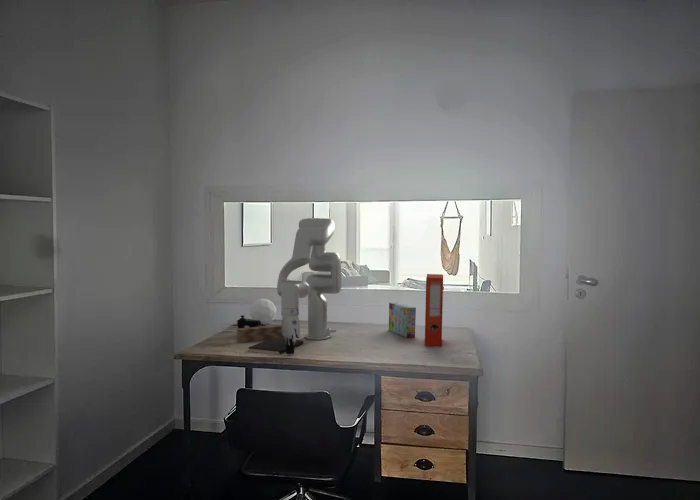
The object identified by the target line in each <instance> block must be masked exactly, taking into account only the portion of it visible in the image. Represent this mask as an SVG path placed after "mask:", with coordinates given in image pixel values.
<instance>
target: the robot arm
mask: <svg viewBox="0 0 700 500" xmlns="http://www.w3.org/2000/svg"><path fill="white" fill-rule="evenodd" d="M335 225H336V224H335V222H334V220H333V219H331V218H311V217H309V218H302V219H300V220H299V222H298V229H297V230H296V233H295V238H294V245H293V249H292V255H291V258H290V259H289V260H288V261H287V262H286V263H284V265H283V266H282V267H281V270H280V272H279V273H278V274H279V275H278V278H277V283H276V285H277V286H276V291H277V292H276V293H277V295H278V296H279V297H280V300H281V301H280V303H281V304H280V306H281V307H280V308H281V309H280V313H281V318H282V319H281V325H282V335H283V336H284V338H283V339H285V341H286V344H287V345H286V352H285V354H287V355H294V354H295V348H294V344H295V342H296V340H297V339H300V337H301V329H300V327H301V326H300V318H299V316H300V313H299V312H300V311H299V310H300V307H299V306H300V299H303V298H306V297H307V333H306V334H305V335H304V339H308V340H313V341H314V340H315V341H317V340H318V341H321V340H322V341H323V340H327V339H330V338H331V334H332V333H333V334H334V333H335V334H336V333H337V329H336V328H330V327H328V301H327V299H326V296H325V295H324V294H329V295H330V294H331V295H334V294H335V295H336V294H339V293H340V292H341V290H342V285H343V283H342V282H343V281H342V261H341V260H342V259H341V257H340V254H339V253H336V252H333V251H331V252H329V251H327V250H326V244H328V242H329V241H330V240H331V238H332V237H333V235H334V233H335V229H336V226H335ZM306 265H308V267H309V270H310V271H312V272H324V273H312V274H310V275H308V276H307V277H306V280H293V279H292V280H291V279H290V280H289V279H288V277H289V275H290V274H291V273H292V272H293V271H295V270H297V269H299V268H302V267H304V266H306ZM325 272H326V273H325ZM328 273H329V274H328Z"/></svg>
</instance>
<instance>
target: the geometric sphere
mask: <svg viewBox="0 0 700 500" xmlns="http://www.w3.org/2000/svg"><path fill="white" fill-rule="evenodd" d="M249 316H250V318H251V320H260V322H261V324H260V325H262V324H263V326H267V325H268V324H270V323H272V322H273V321H274V319H275V318H276V316H277V307H276V306H275V303H274V302H273V301H271V300H270V299H268V298H258V299H256V300H255V301H253V302H252V304H251V306H250V307H249Z"/></svg>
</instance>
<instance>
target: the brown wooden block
mask: <svg viewBox="0 0 700 500" xmlns="http://www.w3.org/2000/svg"><path fill="white" fill-rule="evenodd" d="M272 338H283V339H285V338H284V336H283V335H282V324H278V325H277V324H276V325H275V324H274V325H263V326H257V327H251V328H250V327H244V328H239V329H238V328H236V341H237V343H239V344H240V343H249V342H250V343H251V341H252V342H262V341H266V340H269V339H272ZM261 340H262V341H261Z"/></svg>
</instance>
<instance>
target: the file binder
mask: <svg viewBox="0 0 700 500" xmlns="http://www.w3.org/2000/svg"><path fill="white" fill-rule="evenodd" d="M425 279H426V281H425V310H424V311H425V313H424V314H425V315H424V316H425V317H424V320H425V321H424V323H425V324H424V346H425V347H435V346H437V348H439V347H440V348H441V347H443V346H442V344H443V341H442V339H443V306H444V305H443V302H444V297H443V296H444V274H441V273H440V274H439V273H438V274H435V273H427V274H426V278H425Z"/></svg>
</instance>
